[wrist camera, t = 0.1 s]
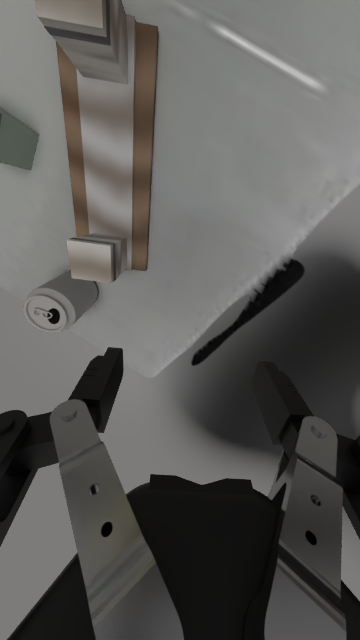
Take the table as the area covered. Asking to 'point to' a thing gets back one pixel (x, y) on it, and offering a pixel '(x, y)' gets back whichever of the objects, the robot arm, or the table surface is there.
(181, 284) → the table surface
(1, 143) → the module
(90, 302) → the can
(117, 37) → the wooden block stand
